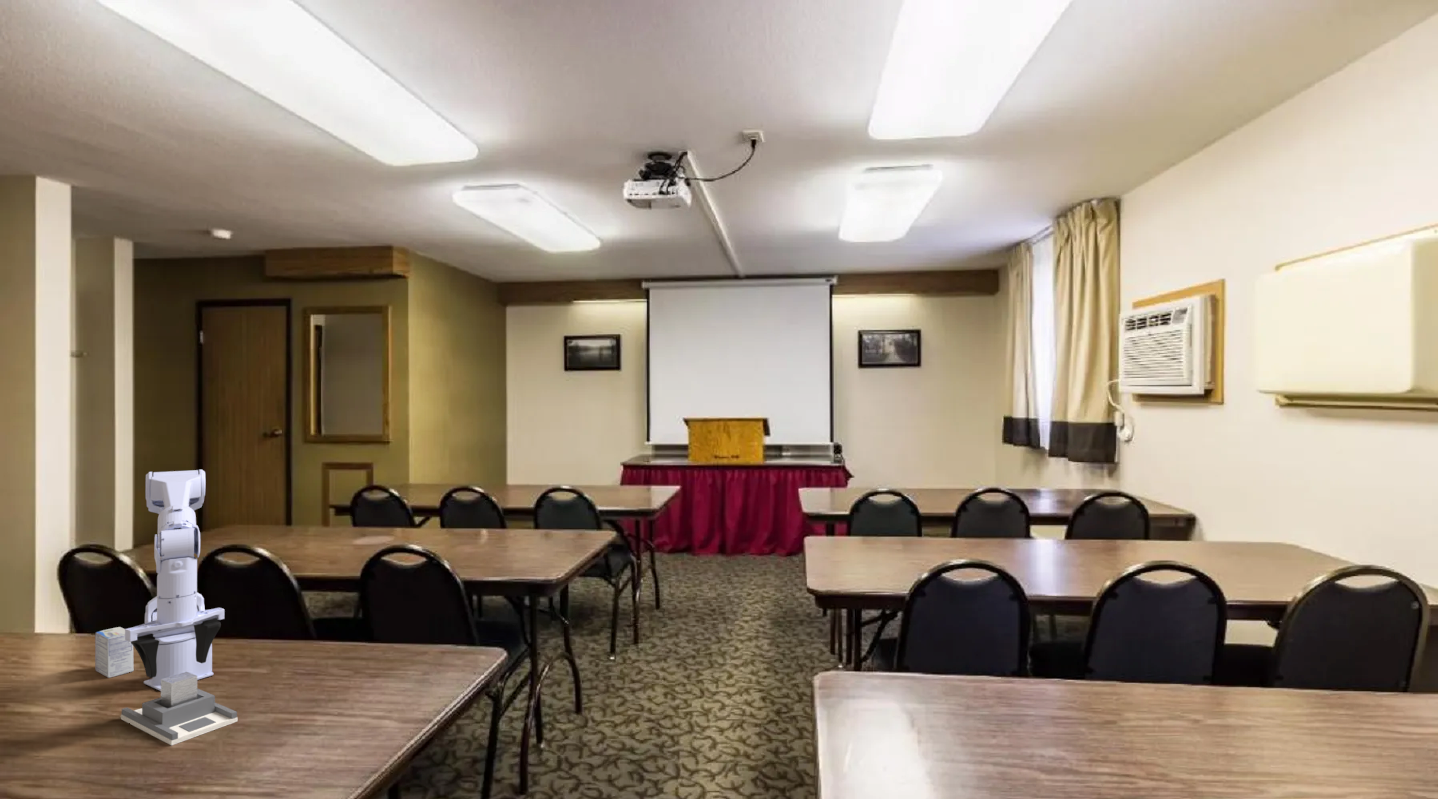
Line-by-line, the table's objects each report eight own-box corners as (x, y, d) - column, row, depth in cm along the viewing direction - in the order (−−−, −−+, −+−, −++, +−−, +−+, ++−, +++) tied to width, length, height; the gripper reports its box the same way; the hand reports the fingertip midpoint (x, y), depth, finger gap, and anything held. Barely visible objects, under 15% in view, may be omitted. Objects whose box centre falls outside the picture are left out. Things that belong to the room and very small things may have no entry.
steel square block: (186, 709, 126) (186, 671, 126) (197, 713, 124) (197, 675, 124) (160, 717, 122) (160, 679, 122) (171, 722, 120) (171, 683, 120)
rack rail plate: (185, 698, 132) (185, 679, 132) (237, 721, 122) (237, 700, 122) (120, 719, 123) (120, 698, 123) (171, 745, 114) (171, 722, 114)
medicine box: (134, 672, 146) (134, 632, 146) (107, 679, 142) (107, 638, 142) (120, 664, 150) (121, 626, 150) (94, 671, 146) (94, 631, 146)
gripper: (137, 607, 115) (137, 687, 115) (232, 587, 128) (232, 659, 127) (120, 602, 118) (119, 679, 118) (214, 583, 131) (213, 653, 131)
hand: (176, 668), depth 123 cm, fingers open, 7 cm apart
